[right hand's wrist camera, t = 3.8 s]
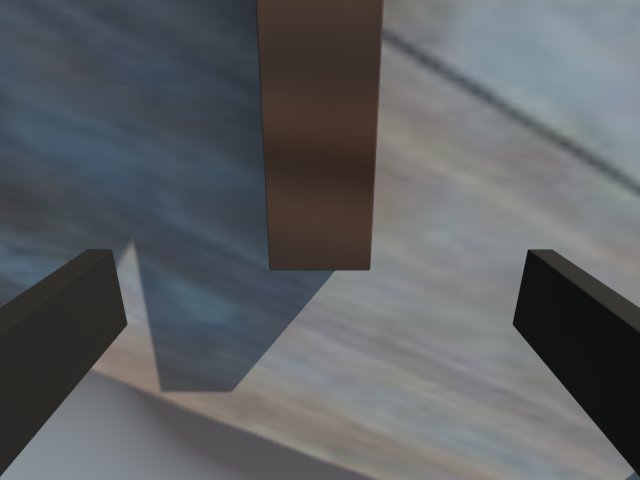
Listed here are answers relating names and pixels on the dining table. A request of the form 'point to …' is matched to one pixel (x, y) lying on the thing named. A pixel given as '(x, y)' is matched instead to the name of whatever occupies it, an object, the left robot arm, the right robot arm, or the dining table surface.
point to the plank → (319, 129)
